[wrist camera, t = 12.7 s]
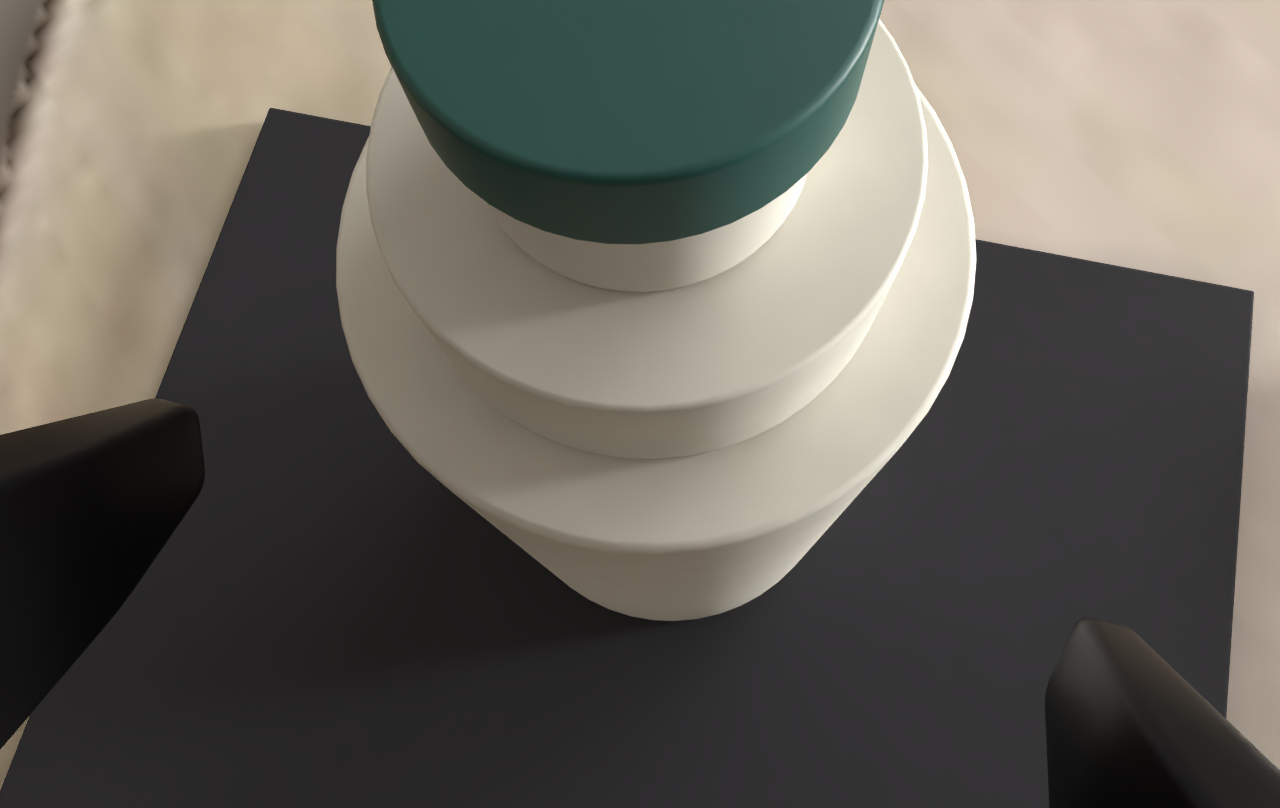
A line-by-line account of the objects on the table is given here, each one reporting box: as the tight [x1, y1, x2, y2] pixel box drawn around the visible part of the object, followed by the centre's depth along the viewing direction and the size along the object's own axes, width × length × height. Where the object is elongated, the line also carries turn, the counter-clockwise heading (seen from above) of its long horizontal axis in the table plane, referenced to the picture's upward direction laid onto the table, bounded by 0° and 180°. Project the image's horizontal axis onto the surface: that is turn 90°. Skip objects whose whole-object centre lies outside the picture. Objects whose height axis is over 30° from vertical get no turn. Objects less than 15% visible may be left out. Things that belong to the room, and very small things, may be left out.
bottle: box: [336, 0, 977, 621], centre depth 11 cm, size 6×6×12 cm
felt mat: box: [0, 108, 1254, 808], centre depth 17 cm, size 15×20×1 cm
